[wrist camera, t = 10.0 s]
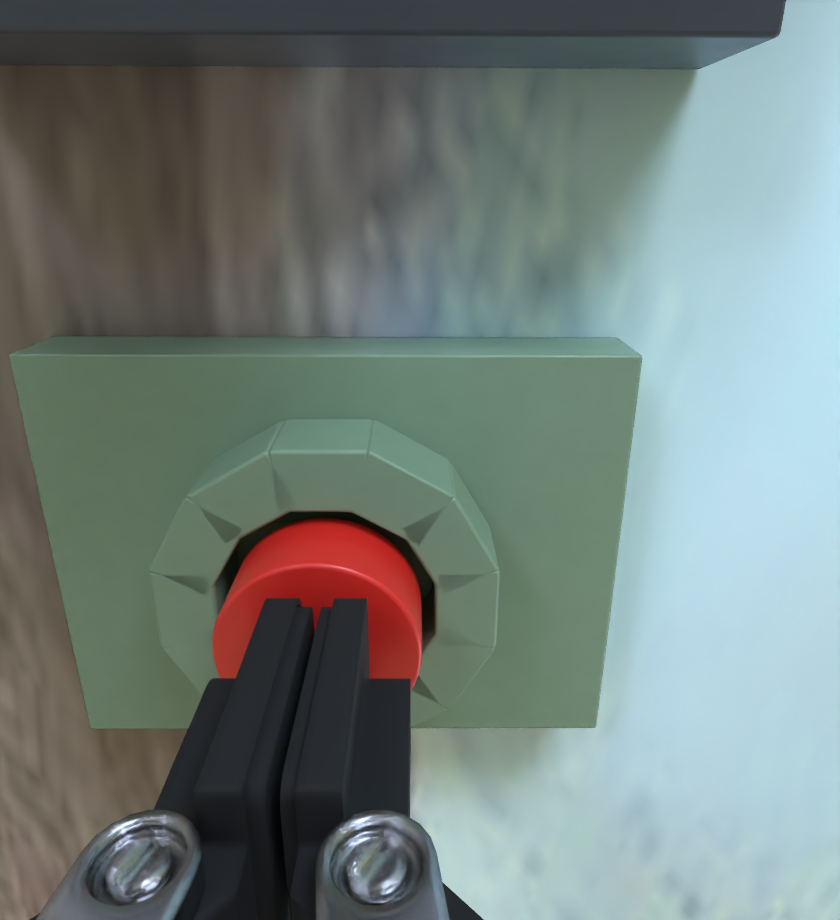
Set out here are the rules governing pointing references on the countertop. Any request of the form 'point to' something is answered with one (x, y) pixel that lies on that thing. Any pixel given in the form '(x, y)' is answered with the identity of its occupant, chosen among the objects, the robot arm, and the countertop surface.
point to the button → (327, 591)
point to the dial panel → (385, 32)
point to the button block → (336, 502)
